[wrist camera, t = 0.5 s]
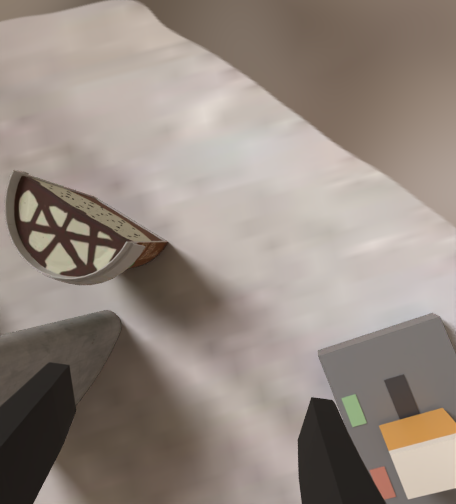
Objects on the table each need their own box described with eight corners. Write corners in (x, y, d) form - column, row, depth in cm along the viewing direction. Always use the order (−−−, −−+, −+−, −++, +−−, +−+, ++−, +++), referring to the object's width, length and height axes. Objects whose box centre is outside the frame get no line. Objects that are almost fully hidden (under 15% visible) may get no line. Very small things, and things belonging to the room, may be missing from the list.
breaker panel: (513, 503, 31) (527, 520, 29) (388, 531, 33) (393, 549, 31) (432, 313, 32) (440, 316, 30) (318, 350, 34) (318, 356, 32)
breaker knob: (458, 445, 29) (486, 480, 25) (393, 462, 30) (407, 499, 26) (442, 407, 30) (466, 435, 25) (378, 425, 31) (390, 455, 26)
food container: (56, 241, 40) (-27, 235, 31) (83, 189, 40) (7, 166, 30) (150, 303, 38) (93, 318, 28) (180, 249, 37) (133, 245, 27)
